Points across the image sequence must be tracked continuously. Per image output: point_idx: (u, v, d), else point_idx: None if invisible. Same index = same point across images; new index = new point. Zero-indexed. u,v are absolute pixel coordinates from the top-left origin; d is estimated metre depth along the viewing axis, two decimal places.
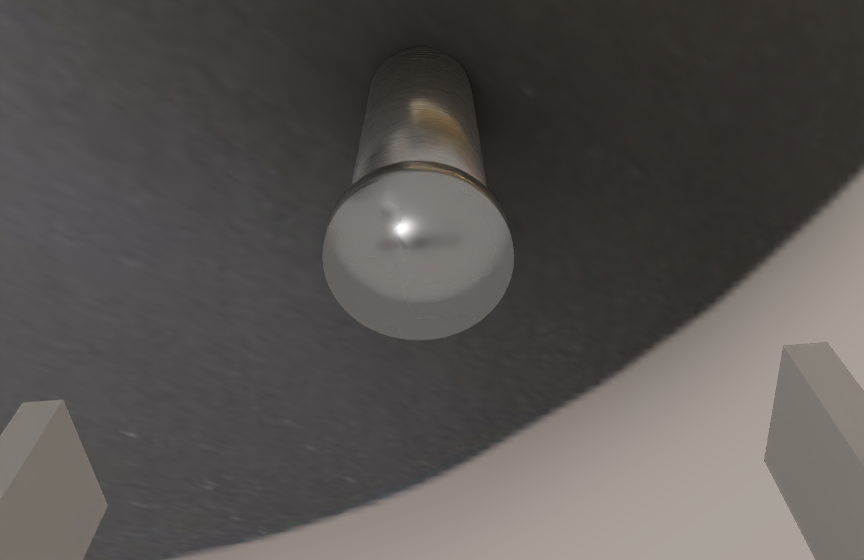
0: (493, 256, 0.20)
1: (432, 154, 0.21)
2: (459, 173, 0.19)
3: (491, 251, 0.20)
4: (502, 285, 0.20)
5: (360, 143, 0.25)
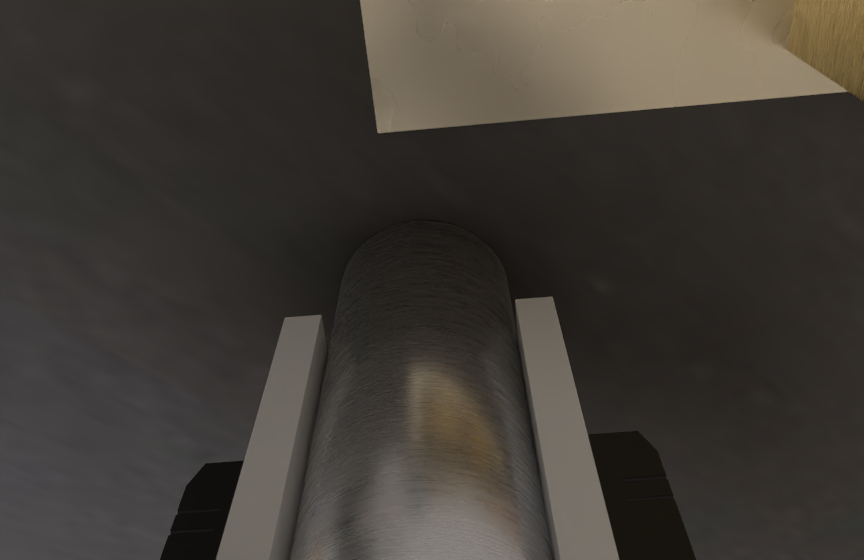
0: None
1: None
2: None
3: None
4: None
5: (307, 476, 0.13)
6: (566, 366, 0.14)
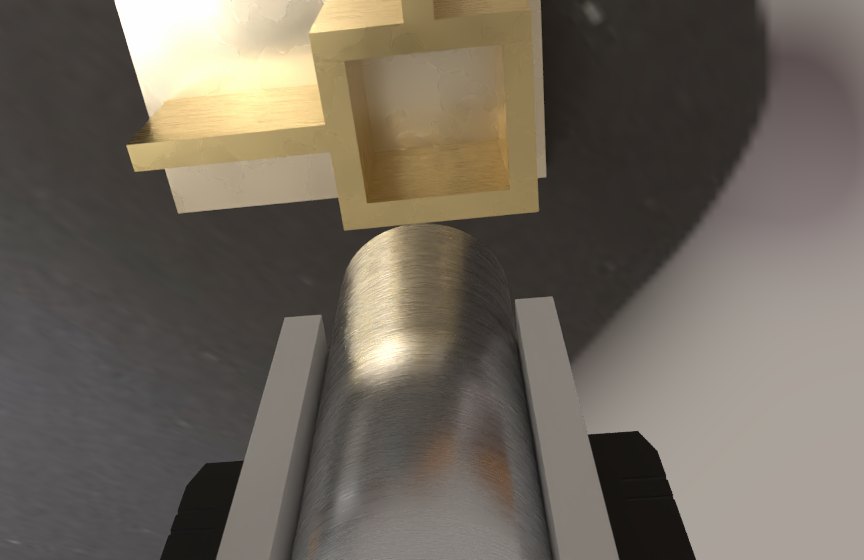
0: None
1: None
2: None
3: None
4: None
5: (307, 480, 0.13)
6: (566, 366, 0.14)
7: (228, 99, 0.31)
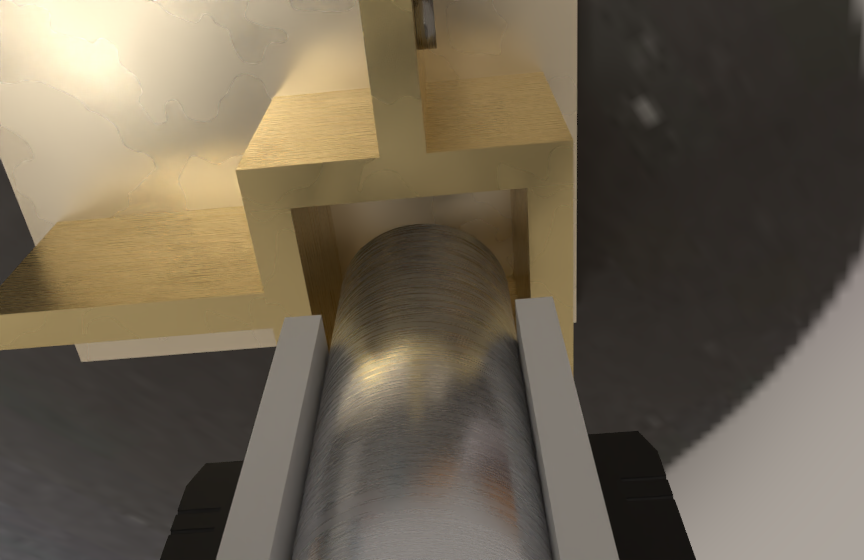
0: None
1: None
2: None
3: None
4: None
5: (308, 480, 0.13)
6: (566, 366, 0.14)
7: (139, 227, 0.22)
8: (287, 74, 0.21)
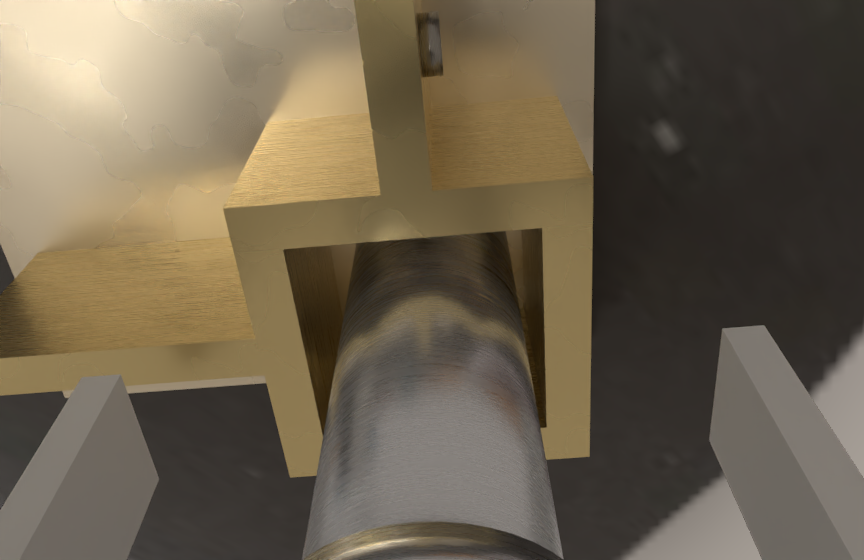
0: None
1: (457, 465, 0.11)
2: (515, 551, 0.10)
3: None
4: None
5: (337, 368, 0.15)
6: (813, 408, 0.12)
7: (124, 260, 0.21)
8: (282, 99, 0.19)
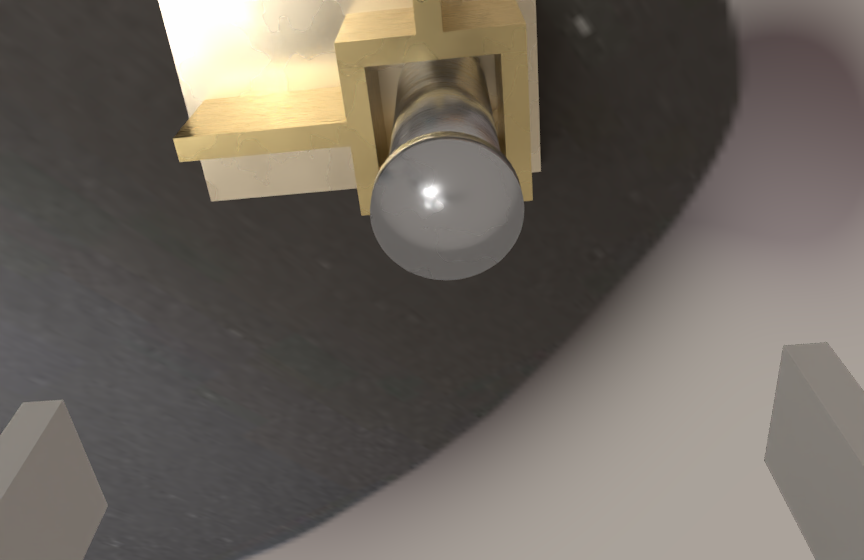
0: (507, 208, 0.24)
1: (457, 128, 0.25)
2: (480, 141, 0.24)
3: (506, 204, 0.24)
4: (515, 233, 0.25)
5: (394, 123, 0.29)
6: None
7: (259, 99, 0.35)
8: None
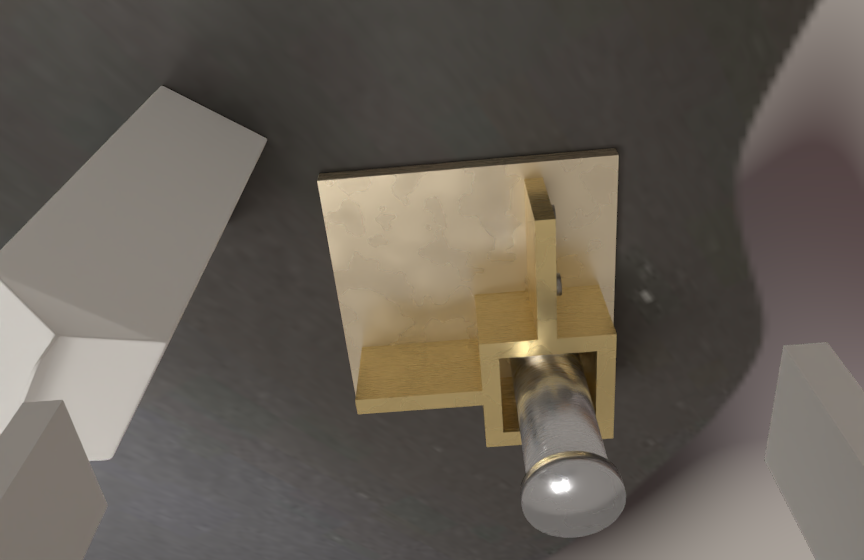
0: (614, 499, 0.36)
1: (577, 436, 0.37)
2: (598, 459, 0.36)
3: (613, 496, 0.36)
4: (618, 512, 0.37)
5: (522, 403, 0.41)
6: None
7: (406, 352, 0.47)
8: (481, 285, 0.46)
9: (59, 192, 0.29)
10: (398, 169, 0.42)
